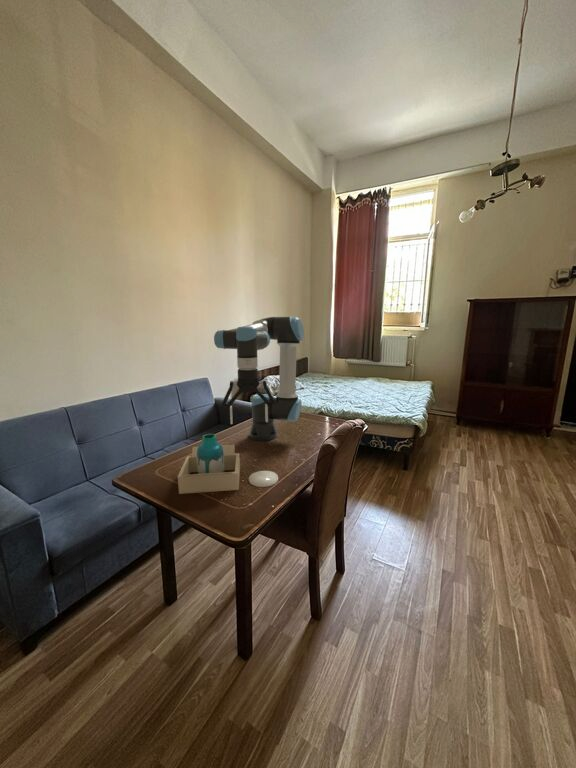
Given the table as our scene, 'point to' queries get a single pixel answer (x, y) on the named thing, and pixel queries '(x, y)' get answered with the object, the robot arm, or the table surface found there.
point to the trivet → (263, 478)
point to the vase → (210, 455)
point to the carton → (210, 474)
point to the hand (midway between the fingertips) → (249, 422)
